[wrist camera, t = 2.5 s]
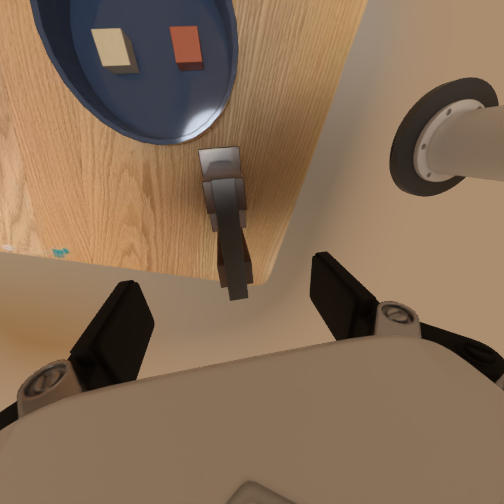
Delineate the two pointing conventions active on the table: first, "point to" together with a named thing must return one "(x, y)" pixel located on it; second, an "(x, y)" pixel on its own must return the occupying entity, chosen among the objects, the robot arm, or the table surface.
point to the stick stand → (213, 165)
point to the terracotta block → (187, 47)
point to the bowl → (144, 64)
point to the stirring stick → (230, 234)
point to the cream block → (115, 50)
